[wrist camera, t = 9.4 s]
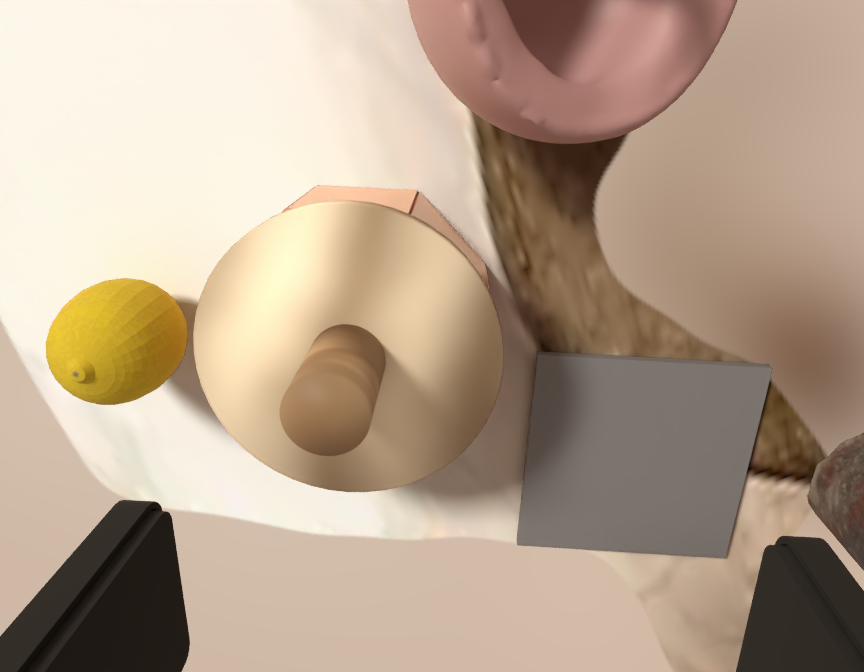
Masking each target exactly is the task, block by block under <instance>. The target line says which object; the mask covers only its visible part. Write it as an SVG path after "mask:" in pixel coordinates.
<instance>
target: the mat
mask: <svg viewBox="0 0 864 672" xmlns="http://www.w3.org/2000/svg"><path fill="white" fill-rule="evenodd" d="M772 369H773V368H772V367H771V366H770V365H769V364H757V363H739V362H721V361H703V360H685V359H667V358H649V357H632V356H614V355H596V354H578V353H560V352H542V351H537V359H536V368H535V377H534V386H533V396H532V405H531V414H530V423H529V432H528V441H527V450H526V460H525V469H524V478H523V487H522V496H521V505H520V514H519V524H518V533H517V545H522V546H538V547H554V548H570V549H586V550H603V551H619V552H635V553H651V554H667V555H683V556H699V557H715V558H726V554H727V550H728V546H729V542H730V538H731V534H732V530H733V526H734V522H735V518H736V514H737V510H738V506H739V502H740V498H741V494H742V490H743V486H744V482H745V478H746V474H747V470H748V465H749V461H750V457H751V453H752V449H753V445H754V441H755V437H756V433H757V429H758V425H759V421H760V417H761V413H762V409H763V405H764V401H765V397H766V393H767V389H768V385H769V381H770V377H771V373H772Z"/></svg>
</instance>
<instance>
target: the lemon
mask: <svg viewBox="0 0 864 672" xmlns="http://www.w3.org/2000/svg"><path fill="white" fill-rule="evenodd" d="M187 340H188V332H187V323H186V320H185V317H184V314H183V312H182V310H181V309H180V307H179V305H178V304H177V302H176V301H175V300H174V299H173V298H172V297H171V296H170V295H169V294H168V293H167V292H165V291H164V290H162V289H161V288H159V287H158V286H156V285H154V284H151V283H148V282H146V281H142V280H136V279H128V278H125V279H115V280H108V281H104V282H101V283H99V284H96V285H94V286H91V287H89V288H87V289H85V290H83V291H82V292H80V293H79V294H78V295H76V296H75V297H74V298H73V299H72V300H70V301H69V302H68V303H67V304H66V305H65V306H64V307H63V308H62V309H61V311H60V312H59V314H58V315H57V317H56V318H55V320H54V321H53V323H52V325H51V327H50V330H49V333H48V337H47V340H46V358H47V361H48V365H49V368H50V370H51V372H52V374H53V375H54V377H55V379H56V380H57V381H58V382H59V383H60V384H61V386H62V387H63V388H64V389H66V390H67V391H68V392H70V393H71V394H72V395H74V396H76V397H78V398H80V399H82V400H84V401H87V402H91V403H95V404H101V405H115V404H121V403H125V402H130V401H133V400H136V399H138V398H141V397H142V396H144V395H146V394H148V393H150V392H152V391H154V390H155V389H157V388H158V387H160V386H161V385H162V384H163V383H164V382H165V381H166V380H167V379H168V378H169V377H170V376H171V375H172V374H173V373H174V372H175V370H176V369H177V367H178V365H179V364H180V362H181V360H182V358H183V356H184V354H185V350H186V345H187Z"/></svg>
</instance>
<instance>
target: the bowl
mask: <svg viewBox="0 0 864 672" xmlns="http://www.w3.org/2000/svg"><path fill="white" fill-rule="evenodd" d="M329 200H356V201H364V202H373V203H377V204H381V205H385V206H389V207H393V208H395V209H398V210H400V211H403V212H406V213H408V214H411V215H413V216H415V217H417V218H419V219H420V220H422V221H424V222H426V223H428V224H429V225H431V226H433V227H434V228H436V229H437V230H438V231H440V232H441V233H442V234H444V235H445V236H446V237H448V238H449V239H450V240H451V241H452V242H453V243H454V244H455V245H456V246H457V247H458V248H459V249H460V250H462V251H463V252H464V254H465V255H466V256H467V257H468V259H469V260H470V261H471V262H472V264H473V265H474V266H475V267H476V269H477V270H478V272H479V274H480V275H481V277H482V279H483V280H484V282H485V284H486V285H487V287H488V290H489V283H488V276H487V269H486V266H485V263H484V262H483V261H482V260H481V259H480V258H479V256H478V255H477V254H476V253H475V252H474V251H473V250H472V249H471V248H470V247H469V245H468V244H467V243H466V242H465V241H464V240H463V239H462V238H461V237H460V235H459V234H458V233H457V232H456V231H455V230H454V229H453V228H452V227H451V226H450V224H449V223H448V222H447V221H446V220H445V219H444V218H443V217H442V216H441V214H440V213H439V212H438V211H437V210H436V209H435V208H434V207H433V206H432V205H431V203H430V202H429V201H428V200H427V199H426V198H425V197H424V196H423V195H422V193H421V192H419V193H418V194H417V190H398V189H379V188H359V187H339V186H320V185H318V186H317V187H314V188H313V189H311V190H310V191H308V192H307V193H306V194H304V195H303V196H302V197H300V198H299V199H298V200H296V201H295V202H294V203H292V204H291V205H290V206H288V207H287V208H286V209H284V210H283V211H282V212H284V211H287V210H289V209H292V208H295V207H299V206H302V205H306V204H309V203H315V202H322V201H329ZM282 212H281V213H282ZM489 292H490V291H489Z"/></svg>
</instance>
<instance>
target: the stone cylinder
mask: <svg viewBox="0 0 864 672" xmlns="http://www.w3.org/2000/svg"><path fill="white" fill-rule="evenodd" d="M807 497H808V502H809V504H810V506H811V507H812V509H813V510H814V512H815V514H816V515H817V516H818V517H819V518H820V519H821V521H822V522H823V523H824V524H825V526H826V527H827V528H828V529H829V530H830V531H831V532H832V534H833V535H834V536H835V537H836V538H837V540H838V541H839V542H840V543H841V544H842V545H843V547H844V548H845V549H846V550H847V552H848V553H849V554H850V555H851V556H852V558H853V559H854V560H855V561H856V562H857V563H858V565H859V566H860V567H861V568H862V569H863V570H864V433H862V434H861V435H858V436H856V437H854V438H851V439H849V440H846V441H844V442H843V443H841V444H840V445H839V446H838V447H837V448H836V449H835V450H834V451H833V452H832V453H831V454H830V455H829V456H828V457H827V458H825V459H824V460H823V461H821V462H820V463H819V464H818V465H817V467H816V470H815V473H814V476H813V478H812V481H811V486H810V491H809V494H808V496H807Z"/></svg>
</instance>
